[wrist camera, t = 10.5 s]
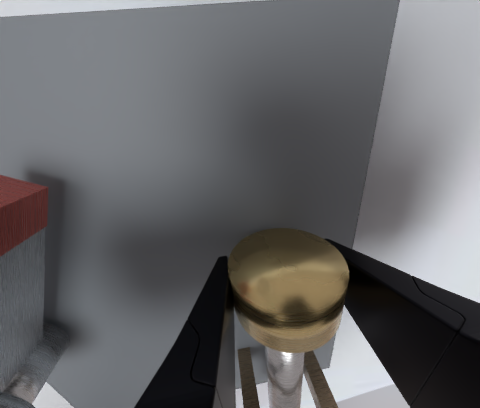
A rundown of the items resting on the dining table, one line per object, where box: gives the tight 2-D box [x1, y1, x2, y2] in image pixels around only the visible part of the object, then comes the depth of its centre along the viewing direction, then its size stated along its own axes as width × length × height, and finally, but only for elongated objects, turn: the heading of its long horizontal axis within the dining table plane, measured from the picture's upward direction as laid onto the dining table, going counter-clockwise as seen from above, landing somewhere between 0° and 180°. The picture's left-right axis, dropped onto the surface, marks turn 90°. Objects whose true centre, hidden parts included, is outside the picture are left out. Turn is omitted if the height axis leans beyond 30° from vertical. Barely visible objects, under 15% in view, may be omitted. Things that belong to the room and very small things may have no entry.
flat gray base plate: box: [0, 0, 400, 408], centre depth 11 cm, size 24×20×1 cm
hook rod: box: [228, 228, 349, 408], centre depth 11 cm, size 15×4×4 cm, turn 6°
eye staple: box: [237, 347, 338, 408], centre depth 13 cm, size 1×5×6 cm, turn 95°
